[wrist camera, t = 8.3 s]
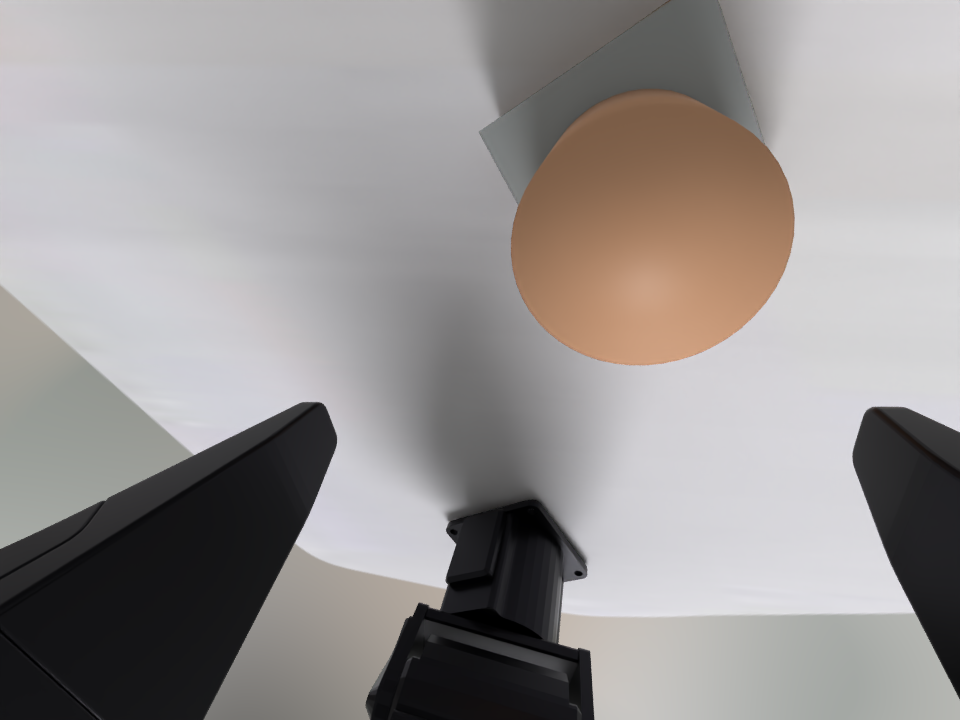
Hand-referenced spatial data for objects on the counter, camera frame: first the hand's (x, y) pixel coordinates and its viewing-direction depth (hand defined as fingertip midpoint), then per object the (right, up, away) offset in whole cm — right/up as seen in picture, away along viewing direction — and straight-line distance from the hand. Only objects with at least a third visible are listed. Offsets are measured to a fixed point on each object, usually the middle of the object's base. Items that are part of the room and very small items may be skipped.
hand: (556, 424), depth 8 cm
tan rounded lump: (+3, +5, +4) cm, 8 cm away
